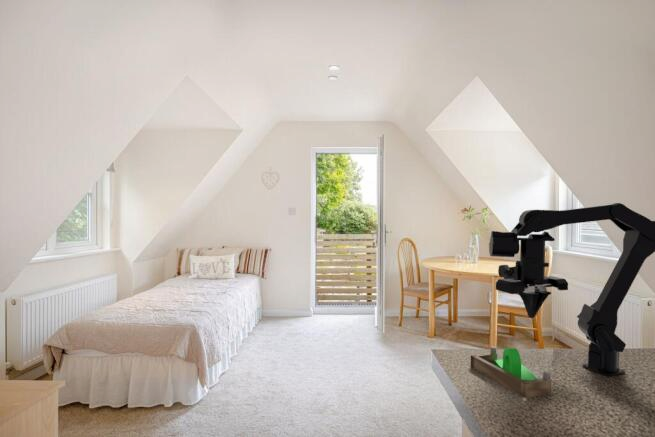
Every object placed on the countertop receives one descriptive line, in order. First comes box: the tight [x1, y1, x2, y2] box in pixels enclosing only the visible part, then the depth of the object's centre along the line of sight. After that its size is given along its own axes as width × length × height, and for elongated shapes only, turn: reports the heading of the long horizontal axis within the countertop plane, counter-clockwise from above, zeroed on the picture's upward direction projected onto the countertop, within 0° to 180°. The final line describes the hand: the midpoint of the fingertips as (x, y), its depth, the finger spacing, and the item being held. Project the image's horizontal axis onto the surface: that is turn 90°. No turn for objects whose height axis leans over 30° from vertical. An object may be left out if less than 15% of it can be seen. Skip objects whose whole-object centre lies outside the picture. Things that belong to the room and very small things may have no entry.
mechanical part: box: [493, 347, 538, 381], centre depth 93 cm, size 12×6×8 cm, turn 175°
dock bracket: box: [470, 346, 553, 399], centre depth 91 cm, size 7×18×4 cm, turn 18°
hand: (531, 317), depth 101 cm, fingers closed
